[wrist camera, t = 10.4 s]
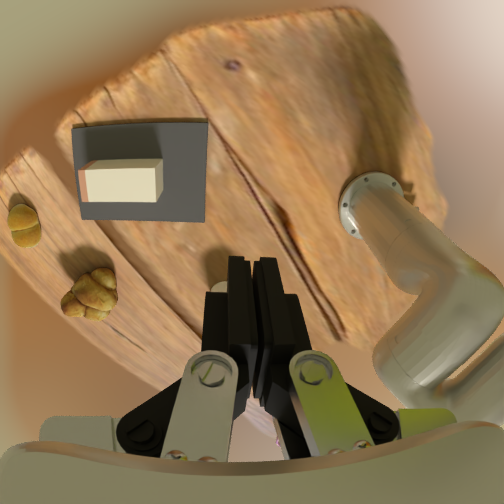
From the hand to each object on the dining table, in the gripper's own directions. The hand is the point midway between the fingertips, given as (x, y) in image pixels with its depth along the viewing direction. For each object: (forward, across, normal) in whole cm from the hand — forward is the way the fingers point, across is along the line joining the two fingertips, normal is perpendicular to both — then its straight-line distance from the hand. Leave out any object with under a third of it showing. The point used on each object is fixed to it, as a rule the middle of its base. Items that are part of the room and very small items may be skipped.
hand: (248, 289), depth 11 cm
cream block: (+32, +10, +7) cm, 34 cm away
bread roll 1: (+36, +40, +16) cm, 56 cm away
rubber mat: (+35, +15, +7) cm, 39 cm away
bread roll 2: (+35, +26, +30) cm, 53 cm away
